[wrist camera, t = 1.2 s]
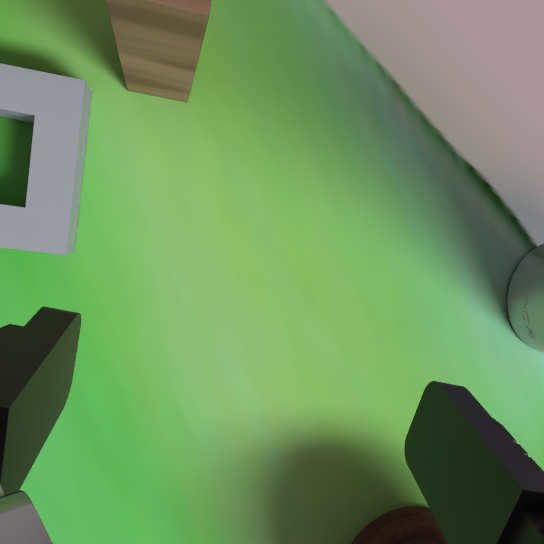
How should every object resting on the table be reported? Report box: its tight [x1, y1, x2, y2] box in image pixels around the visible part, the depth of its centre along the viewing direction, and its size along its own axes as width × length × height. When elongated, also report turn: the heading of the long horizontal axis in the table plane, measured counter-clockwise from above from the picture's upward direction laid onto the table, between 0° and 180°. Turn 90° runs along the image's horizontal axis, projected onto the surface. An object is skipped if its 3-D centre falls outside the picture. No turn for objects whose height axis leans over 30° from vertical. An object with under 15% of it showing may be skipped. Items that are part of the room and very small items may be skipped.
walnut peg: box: [106, 0, 211, 102], centre depth 25 cm, size 4×4×14 cm
